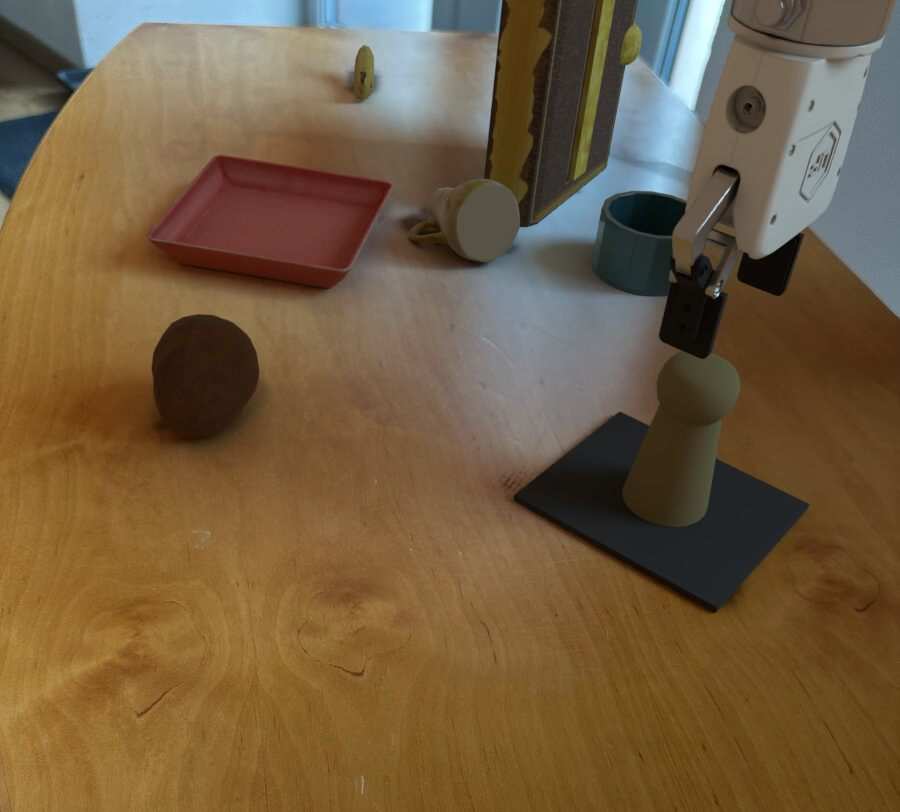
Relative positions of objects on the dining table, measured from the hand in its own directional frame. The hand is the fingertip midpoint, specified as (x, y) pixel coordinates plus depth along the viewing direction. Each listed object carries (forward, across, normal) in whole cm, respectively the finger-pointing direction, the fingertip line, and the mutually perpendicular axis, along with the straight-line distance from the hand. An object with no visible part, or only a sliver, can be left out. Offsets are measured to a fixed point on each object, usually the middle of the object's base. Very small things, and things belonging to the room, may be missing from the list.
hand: (723, 316), depth 61 cm
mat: (+15, -1, 0) cm, 15 cm away
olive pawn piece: (+14, 0, 0) cm, 14 cm away
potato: (+14, -16, +30) cm, 37 cm away
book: (+15, +37, +36) cm, 54 cm away
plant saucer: (+15, +7, +46) cm, 49 cm away
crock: (+15, +28, +19) cm, 37 cm away
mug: (+15, +19, +34) cm, 42 cm away
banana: (+15, +41, +66) cm, 80 cm away
